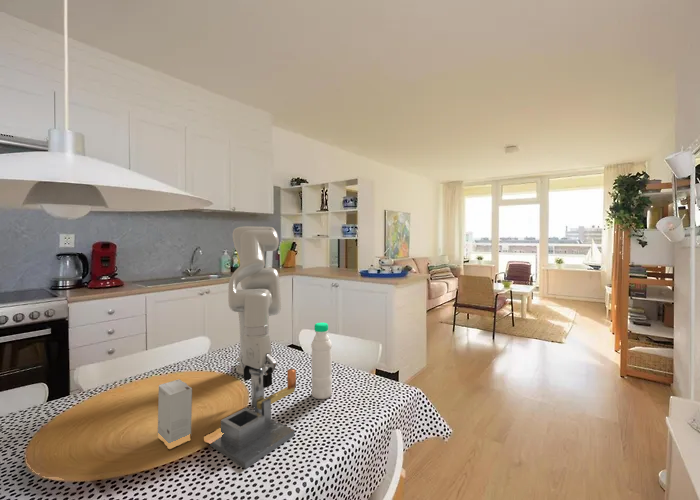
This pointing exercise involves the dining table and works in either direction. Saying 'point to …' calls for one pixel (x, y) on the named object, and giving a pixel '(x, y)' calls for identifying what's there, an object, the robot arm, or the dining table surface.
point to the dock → (251, 434)
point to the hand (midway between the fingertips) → (257, 382)
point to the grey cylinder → (256, 384)
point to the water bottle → (321, 363)
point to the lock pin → (283, 393)
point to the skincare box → (174, 410)
